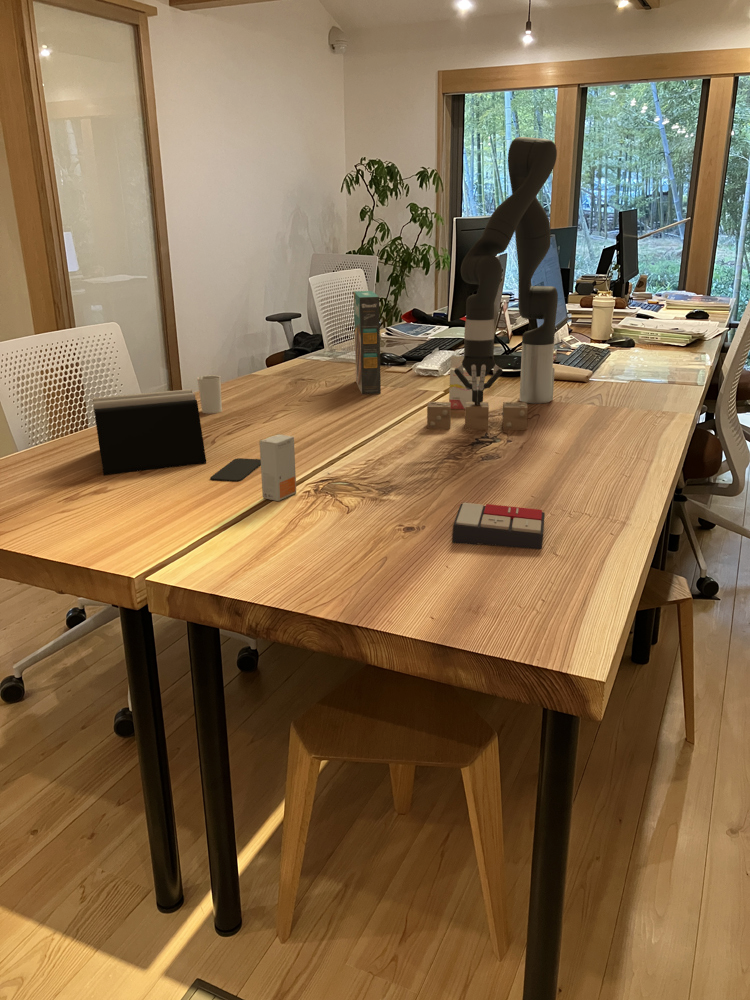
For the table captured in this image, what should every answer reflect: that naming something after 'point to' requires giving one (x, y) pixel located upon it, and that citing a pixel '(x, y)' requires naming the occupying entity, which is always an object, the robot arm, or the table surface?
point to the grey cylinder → (210, 393)
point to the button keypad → (498, 526)
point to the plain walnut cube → (476, 415)
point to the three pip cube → (438, 415)
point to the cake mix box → (367, 341)
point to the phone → (237, 470)
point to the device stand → (148, 431)
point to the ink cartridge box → (459, 386)
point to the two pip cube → (514, 416)
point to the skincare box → (278, 467)
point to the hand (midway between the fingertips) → (477, 403)
